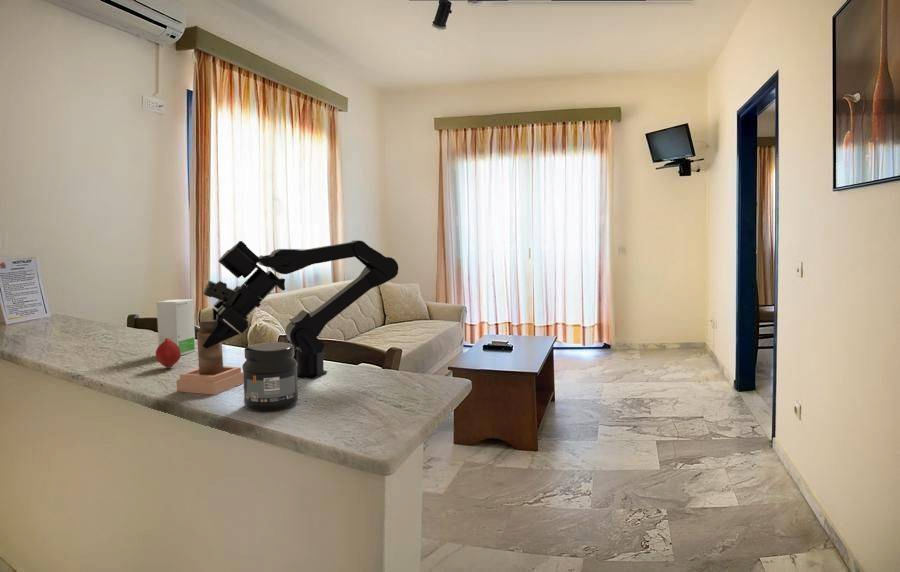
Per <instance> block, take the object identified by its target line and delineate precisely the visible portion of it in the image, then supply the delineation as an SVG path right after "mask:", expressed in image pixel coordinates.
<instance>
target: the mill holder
mask: <svg viewBox="0 0 900 572" xmlns="http://www.w3.org/2000/svg"><path fill="white" fill-rule="evenodd" d="M175 381H176V392H182V393H183V392H185V393H194V394H205V395H214V396H216V395H218V394H221V393H223V392H226V391H228V390H230V389H232V388H235V387H237V386H240V385H242V384H243V385H244V378H243V371H242V366H241V367H239V366H229V365H228V366H227V365H225V366H224V365H223V372H222V373H219V374H216V375H214V376H212V375H200V374H199V367H197V368H195V369H191V370H188V371H185V372H182V373H179V379H176V380H175Z"/></svg>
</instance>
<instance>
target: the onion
mask: <svg viewBox="0 0 900 572" xmlns="http://www.w3.org/2000/svg"><path fill="white" fill-rule="evenodd" d="M181 356H182V355H181V352H180V348H179V346H178V345H177V344H176V343H174V342H172V341H171V340H170V339H169V338H166V339H165V341H164V342H163V343H161V344H160V345H159V344H158V346H157V348H156V350H155V358H156V361H157V362H158V363H159V364H160V365H162V366H164V367H165V368H166V369H171V368H172V367H173V366H174V365H176V364H177V363H178V362H179V361H180V358H181Z"/></svg>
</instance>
